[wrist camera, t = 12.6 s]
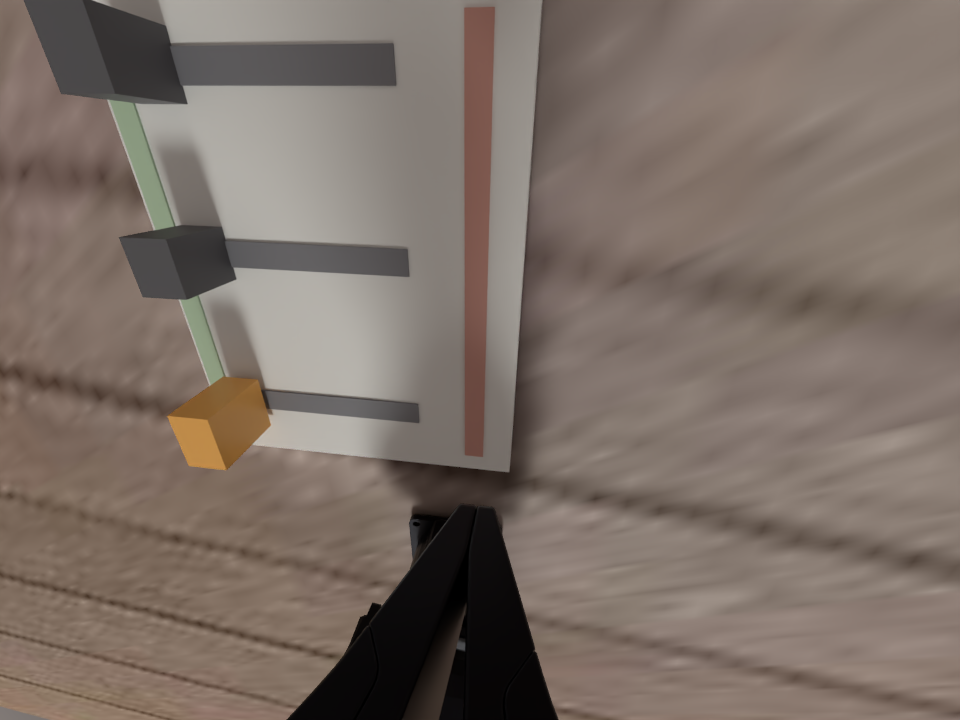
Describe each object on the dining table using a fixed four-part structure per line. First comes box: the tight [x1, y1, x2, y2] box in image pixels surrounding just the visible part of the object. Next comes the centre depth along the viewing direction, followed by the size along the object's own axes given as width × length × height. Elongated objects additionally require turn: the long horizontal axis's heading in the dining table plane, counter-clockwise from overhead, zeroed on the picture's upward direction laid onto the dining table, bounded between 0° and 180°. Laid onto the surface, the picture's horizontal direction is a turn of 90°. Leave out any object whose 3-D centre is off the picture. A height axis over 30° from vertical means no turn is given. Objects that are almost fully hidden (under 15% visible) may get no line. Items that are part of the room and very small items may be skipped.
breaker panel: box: [24, 0, 543, 472], centre depth 18 cm, size 21×17×5 cm
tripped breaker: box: [167, 377, 271, 470], centre depth 20 cm, size 3×2×4 cm, turn 179°
